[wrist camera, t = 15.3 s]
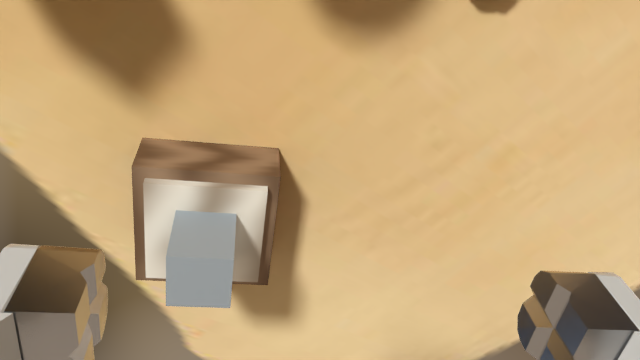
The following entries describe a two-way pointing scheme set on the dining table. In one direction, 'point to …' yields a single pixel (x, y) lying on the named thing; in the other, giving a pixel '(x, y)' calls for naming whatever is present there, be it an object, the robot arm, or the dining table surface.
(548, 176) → the dining table surface
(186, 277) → the slate block
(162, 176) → the walnut block
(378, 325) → the dining table surface
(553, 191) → the dining table surface
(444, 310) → the dining table surface
